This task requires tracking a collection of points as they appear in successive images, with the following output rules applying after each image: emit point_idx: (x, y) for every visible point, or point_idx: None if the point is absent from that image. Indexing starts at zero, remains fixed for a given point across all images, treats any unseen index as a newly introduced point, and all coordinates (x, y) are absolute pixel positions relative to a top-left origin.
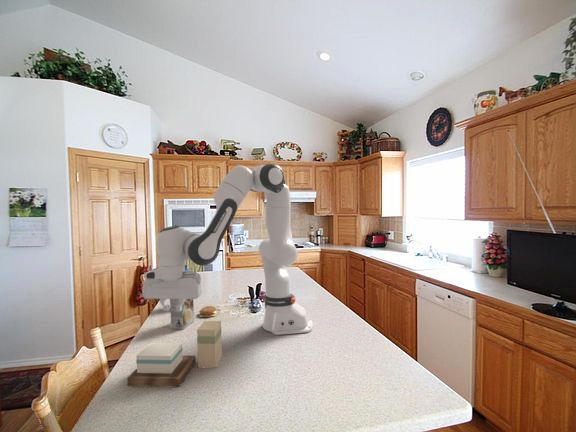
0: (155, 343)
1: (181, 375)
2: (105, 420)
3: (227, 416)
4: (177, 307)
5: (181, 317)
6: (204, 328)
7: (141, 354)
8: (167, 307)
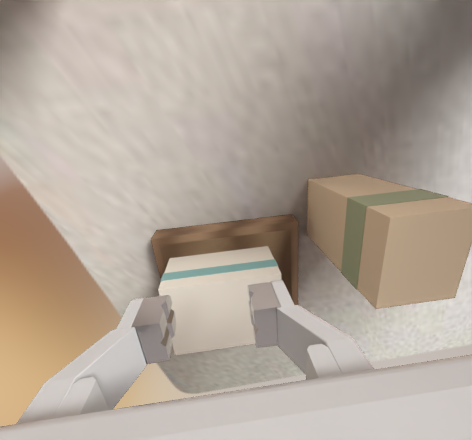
0: (181, 290)
1: (297, 302)
2: (212, 381)
3: (399, 342)
4: (267, 337)
5: None
6: (407, 295)
7: (187, 349)
8: (170, 345)
